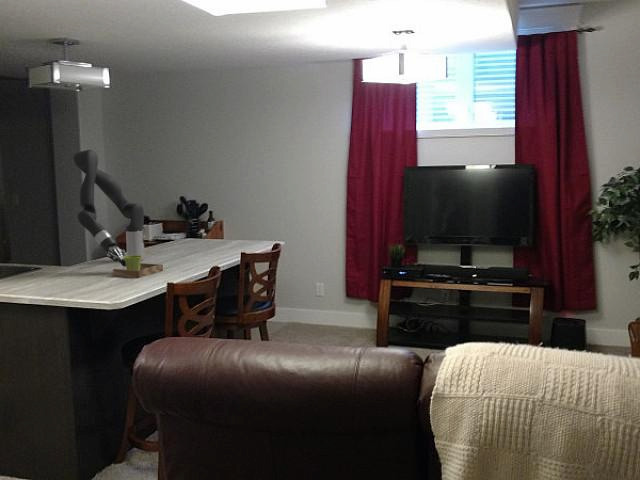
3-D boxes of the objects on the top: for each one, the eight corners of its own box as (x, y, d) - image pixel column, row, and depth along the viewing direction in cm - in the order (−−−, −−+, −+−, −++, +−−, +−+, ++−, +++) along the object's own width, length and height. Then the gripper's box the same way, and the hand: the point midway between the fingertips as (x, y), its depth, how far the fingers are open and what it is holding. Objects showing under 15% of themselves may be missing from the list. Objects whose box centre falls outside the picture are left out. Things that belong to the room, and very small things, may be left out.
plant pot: (128, 275, 308) (127, 258, 307) (121, 272, 315) (120, 256, 314) (146, 273, 314) (145, 256, 313) (138, 270, 321) (137, 254, 320)
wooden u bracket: (138, 269, 326) (138, 263, 325) (162, 271, 320) (162, 264, 320) (113, 276, 307) (112, 269, 306) (138, 278, 301) (138, 271, 301)
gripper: (100, 237, 311) (121, 262, 308) (118, 234, 323) (138, 259, 320) (93, 247, 313) (113, 272, 310) (110, 244, 325) (130, 268, 323)
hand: (125, 265), depth 315 cm, fingers closed
